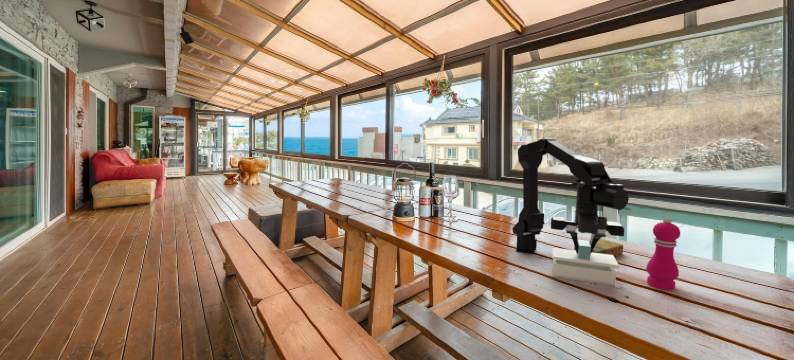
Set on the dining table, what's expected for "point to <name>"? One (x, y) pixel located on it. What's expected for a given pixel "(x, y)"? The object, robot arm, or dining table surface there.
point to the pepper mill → (663, 256)
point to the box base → (584, 272)
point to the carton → (608, 247)
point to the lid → (584, 255)
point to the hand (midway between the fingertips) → (583, 253)
